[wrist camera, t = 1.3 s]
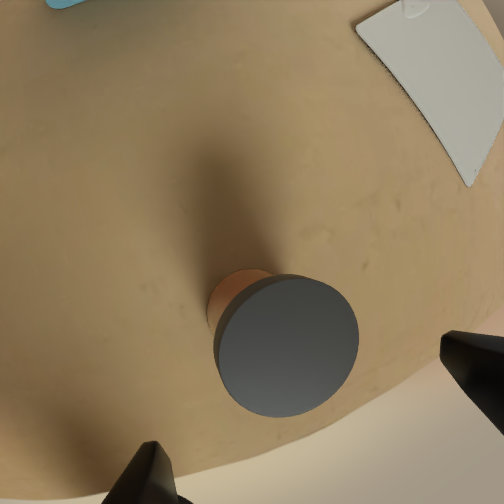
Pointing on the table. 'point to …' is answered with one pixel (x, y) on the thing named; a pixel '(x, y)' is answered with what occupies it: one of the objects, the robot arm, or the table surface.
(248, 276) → the jar
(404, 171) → the table surface
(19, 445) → the table surface
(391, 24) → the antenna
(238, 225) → the table surface
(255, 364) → the lid
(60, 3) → the light blue rounded block
